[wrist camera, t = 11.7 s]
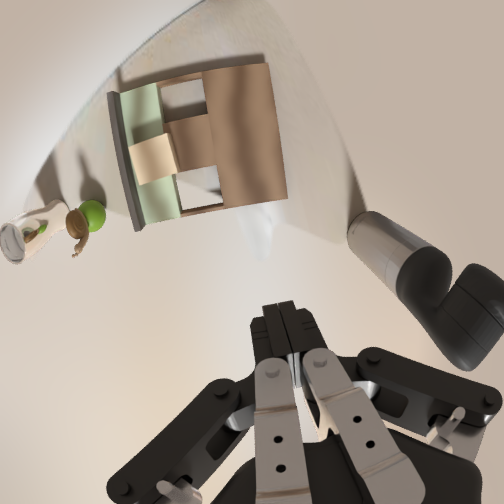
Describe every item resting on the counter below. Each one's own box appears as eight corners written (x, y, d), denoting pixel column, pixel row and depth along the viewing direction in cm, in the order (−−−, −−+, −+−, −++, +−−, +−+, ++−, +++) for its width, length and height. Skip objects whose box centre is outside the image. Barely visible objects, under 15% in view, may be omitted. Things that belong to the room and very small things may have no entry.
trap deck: (265, 66, 35) (271, 57, 30) (284, 195, 44) (292, 202, 39) (119, 97, 35) (106, 93, 30) (144, 221, 44) (135, 231, 38)
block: (170, 133, 36) (166, 133, 33) (181, 170, 39) (177, 172, 36) (134, 146, 36) (128, 147, 33) (145, 182, 39) (139, 185, 36)
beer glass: (71, 196, 40) (22, 222, 26) (73, 233, 43) (30, 268, 29) (44, 197, 39) (-6, 221, 25) (47, 231, 42) (2, 263, 28)
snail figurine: (94, 235, 43) (63, 263, 32) (80, 203, 41) (44, 224, 30) (117, 225, 43) (88, 252, 32) (103, 192, 41) (69, 210, 30)
